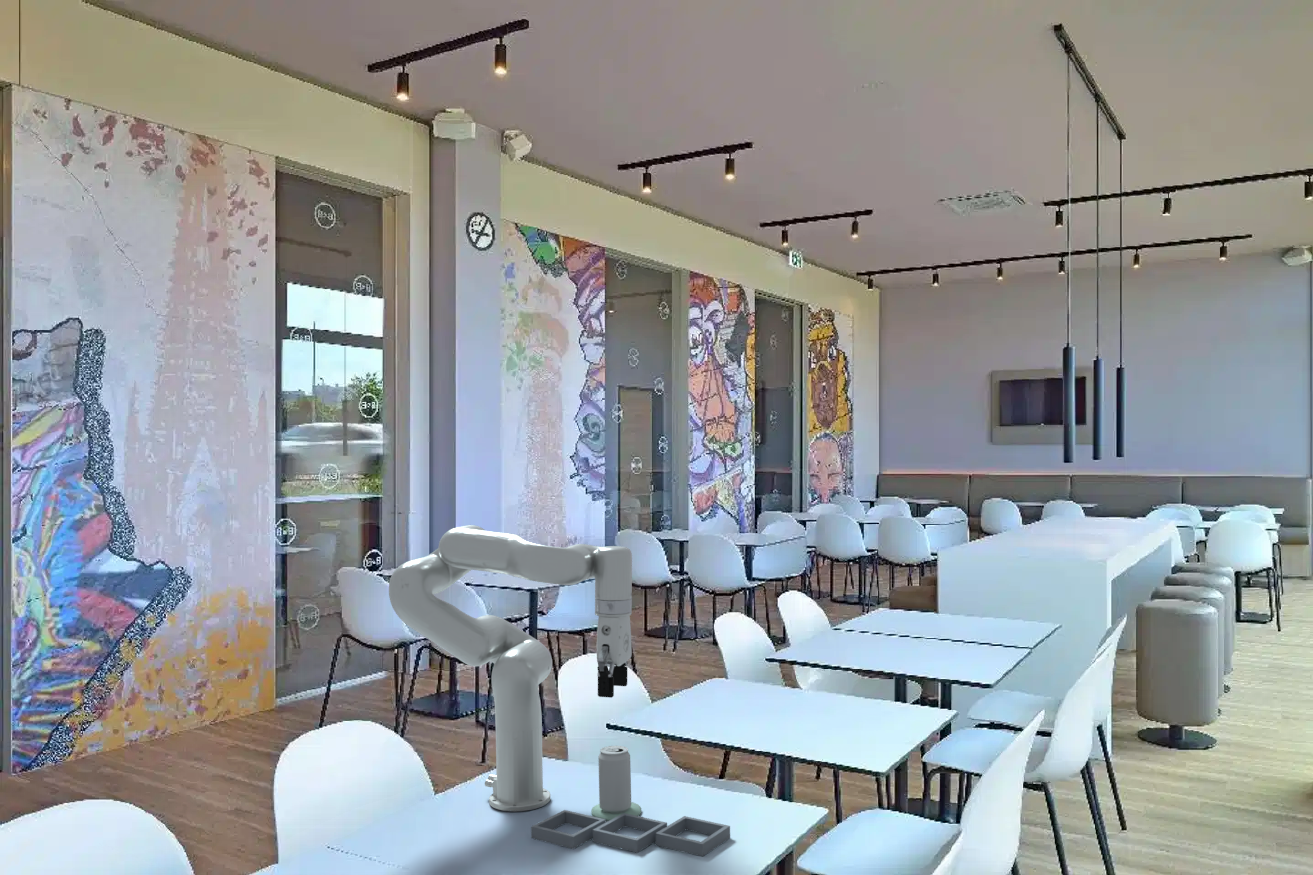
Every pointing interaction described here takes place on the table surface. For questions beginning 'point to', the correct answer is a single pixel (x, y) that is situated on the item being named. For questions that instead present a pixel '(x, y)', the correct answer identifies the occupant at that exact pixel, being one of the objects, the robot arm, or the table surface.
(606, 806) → the beverage can
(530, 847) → the table surface
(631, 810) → the coaster
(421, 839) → the table surface
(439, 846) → the table surface
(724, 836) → the tray
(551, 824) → the tray
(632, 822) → the tray
